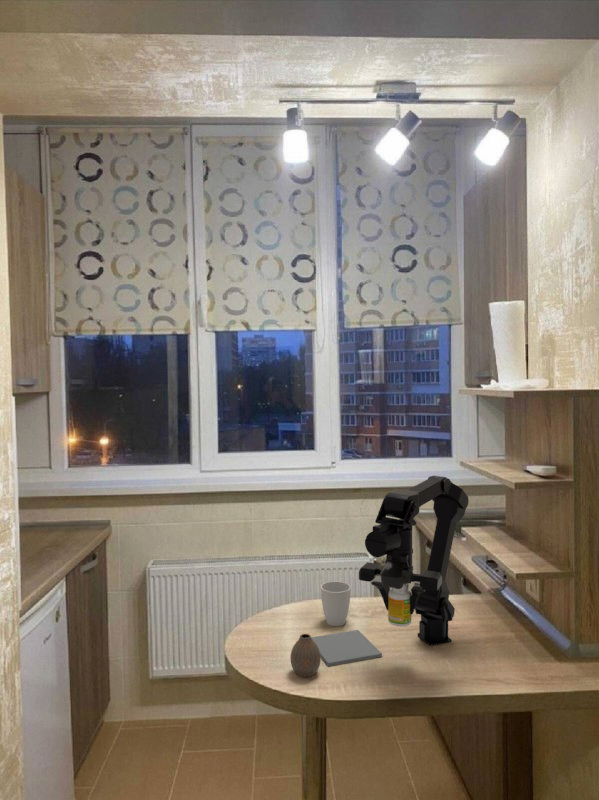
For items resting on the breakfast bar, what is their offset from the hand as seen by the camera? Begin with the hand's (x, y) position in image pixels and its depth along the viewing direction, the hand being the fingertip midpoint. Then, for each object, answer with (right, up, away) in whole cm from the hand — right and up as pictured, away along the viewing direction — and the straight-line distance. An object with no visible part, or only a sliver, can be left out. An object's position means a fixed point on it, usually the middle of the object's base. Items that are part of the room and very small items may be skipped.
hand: (399, 611), depth 144 cm
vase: (-22, -13, -3) cm, 26 cm away
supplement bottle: (0, -3, 0) cm, 3 cm away
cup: (-14, -11, +24) cm, 30 cm away
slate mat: (-13, -12, +8) cm, 19 cm away
